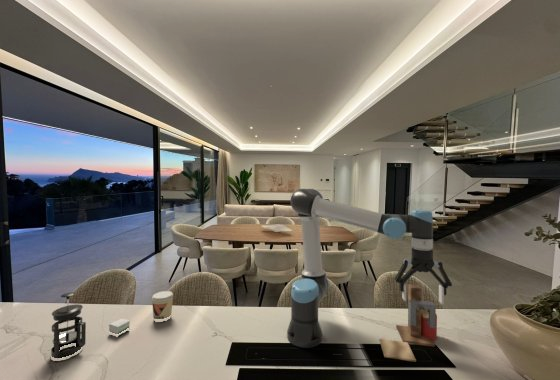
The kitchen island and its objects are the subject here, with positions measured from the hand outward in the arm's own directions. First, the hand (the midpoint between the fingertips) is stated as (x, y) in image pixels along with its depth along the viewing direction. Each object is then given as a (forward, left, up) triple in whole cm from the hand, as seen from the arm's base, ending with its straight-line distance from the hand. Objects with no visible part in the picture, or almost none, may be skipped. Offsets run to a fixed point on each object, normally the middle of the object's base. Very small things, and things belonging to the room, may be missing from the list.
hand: (422, 301), depth 98 cm
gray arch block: (0, 0, -10) cm, 10 cm away
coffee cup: (-117, -5, -20) cm, 119 cm away
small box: (-127, -19, -20) cm, 130 cm away
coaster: (-10, -3, -19) cm, 22 cm away
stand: (0, +5, -19) cm, 20 cm away
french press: (-135, -35, -20) cm, 140 cm away
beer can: (+5, +10, -20) cm, 23 cm away
